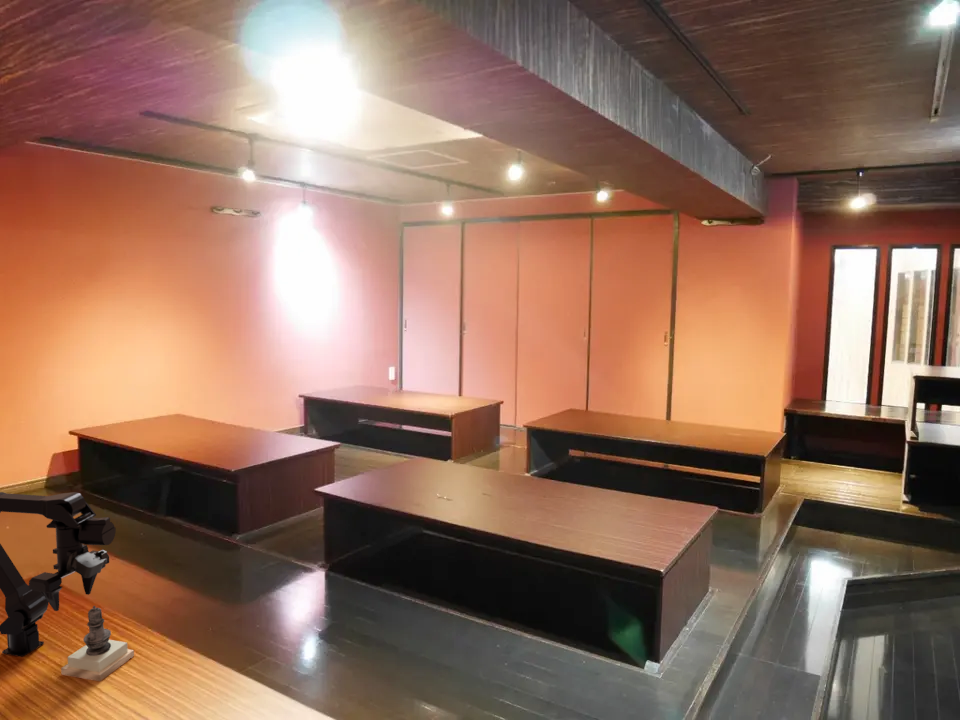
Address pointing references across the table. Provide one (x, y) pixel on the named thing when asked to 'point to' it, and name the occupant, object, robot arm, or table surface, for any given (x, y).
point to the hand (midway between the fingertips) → (72, 602)
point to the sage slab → (97, 657)
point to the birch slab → (97, 675)
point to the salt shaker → (96, 634)
